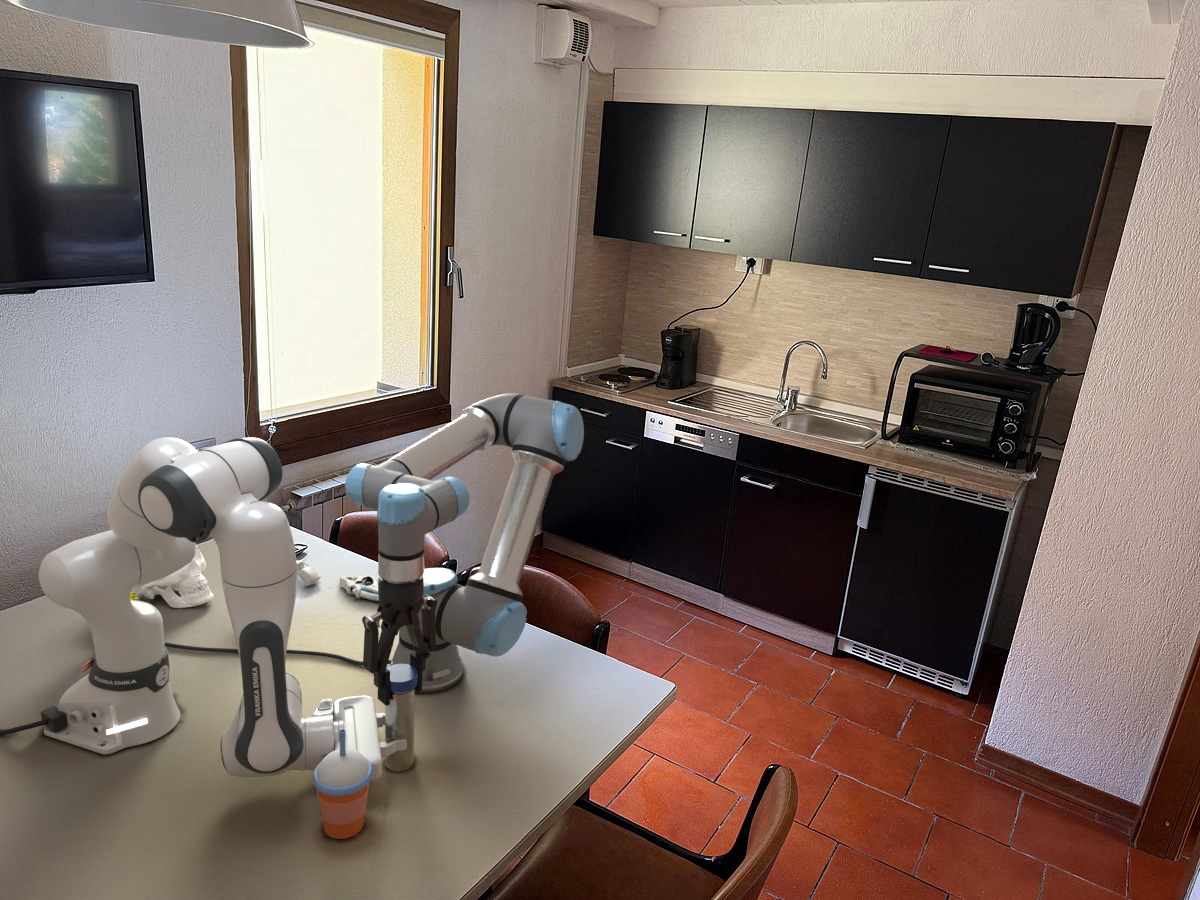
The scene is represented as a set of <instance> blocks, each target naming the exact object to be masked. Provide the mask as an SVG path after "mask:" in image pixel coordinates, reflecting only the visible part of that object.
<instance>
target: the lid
mask: <svg viewBox="0 0 1200 900" xmlns="http://www.w3.org/2000/svg"><path fill="white" fill-rule="evenodd" d="M390 665H391V664H390ZM390 665H389V666H387V668H386V669H388V670H389V671H390V691H391V692H406V691H409V690H411V689H413V688H414V687H416V685H417V682H418V672H417V669H416V668H415V667H413V666H412V665H408V664H395V665H391V666H390Z"/></svg>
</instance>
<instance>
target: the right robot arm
mask: <svg viewBox="0 0 1200 900" xmlns="http://www.w3.org/2000/svg"><path fill="white" fill-rule="evenodd" d="M584 437H585V427H584V420H583V415H582V414H581V412H580V410H579V409H578V408H577V407H576V406H574V405H572V404H569V403H565V402H562V401H561V400H560V401H559V400H553V399H545V398H541V397H536V396H529V395H526V394H525V395H524V394H521V393H502V394H497V395H493V396H491V397H487V398H485V399H482V400H479V401H477V402H475V403H472V404H471V405H469V406H468V407H466V408H464V409H462V410H461V411H460V412H459V413H458V415H457V418H456V419H455V420H453V421H451V422H450V423H448V424H446V425H445V426H443V427H441V428H438V430H436V431H434V432H433V433H431V434H428V435H427V436H426V437H424V438H422V439H421V440H419V441H417V442H415V443H414V444H412V445H410V446H409V447H407V448H406V449H405V448H404V450H402V451H400V452H399V453H397V454H395V455H394V456H392V457H390V458H388V459H387V460H384V461H383V462H382V463H380V464H378V465H374V464H373V463H358V464H356V465H354V466H353V467H352V468H351V469H350V470H349V472H348V474H347V475H346V479H345V483H344V489H345V495H346V497H347V499H349V501H350V502H352V503H354V504H357V505H360V506H363V507H364V508H366V509H371V510H372V509H373V510H376V516H377V528H378V529H377V530H378V531H377V532H378V534H377V535H378V547H377V551H378V556H377V559H378V560H377V561H378V562H377V563H378V565H377V567H378V568H377V570H378V571H377V574H378V577H377V584H378V597H379V601H378V602H379V603H378V607H377V608H376V612H375V613H373V614H372V615H370V616H369V615H365V614H364V616H362V618H361V621H362V624H363V627H364V636H363V653H362V654H363V656H362V661H360V660H355V659H351V658H349V657H346V656H343V655H340V654H336V653H330V652H329V653H328V652H321V651H313V650H298V649H287V650H286V655H301V656H303V655H304V656H314V657H315V656H317V657H322V658H323V657H325V658H330V659H336V660H339V661H343V662H344V663H348V664H352V665H356V666H362V667H363V668H364V669H365V670H366V671H367V672H369V673H370V674H373V685H374V686H375V687H376V688H377V700H378V701H380V702H381V703H382V704H383V705H384V706H385V705H386V706H387V705H389V704H390V671H389V670H388V669H386V668H387V667H388V665H389V666H391V665H395V664H408V665H412V666H413V667H415V668H416V669H417V672H418V682H417V685H416V687H415V694H430V693H431V694H432V693H438V692H441V691H445V690H447V689H450V688H451V687H453V686H455V685H456V684H457V683H458V682H459V681H460V680H461V679H462V676H463V672H464V664H463V660H462V657H461V656H460V653H459V649H458V646H459V647H461V648H464V649H466V650H467V649H468V650H471V651H473V652H475V653H476V654H479V655H486V656H490V657H493V658H496V657H502V656H503V655H506V654H507V653H509V652H510V651H511V649H513V648H514V646H515V645H516V644H517V643H518V641H519V639H520V638H521V637H522V634H523V631H524V629H525V627H526V623H527V619H528V618H527V615H528V611H527V607H526V606H525V605H524V603H523V602H522V600H523V596H524V594H523V592H522V589H521V587H520V582H521V578H522V575H523V572H524V569H525V565H526V563H527V560H528V557H529V554H530V550H531V547H532V544H533V541H534V538H535V536H536V532H537V529H538V526H539V523H540V520H541V517H542V514H543V512H544V511H543V510H544V508H545V505H546V501H547V498H548V496H549V493H550V490H551V487H552V483H553V480H554V476H555V475H557V474H559V473H561V472H563V471H564V469H565V466H566V463H567V462H571V461H575V460H576V459H577V458H578V456H579V455H580V454H581V452H582V448H583V444H584V439H585V438H584ZM493 446H503V447H504V446H505V447H509V448H512V449H511V451H510V454H511V457H512V458H513V460H514V466H513V468H512V471H511V474H510V477H509V480H508V483H507V486H506V489H505V492H504V495H503V498H502V502H501V504H500V507H499V509H498V512H497V516H496V518H495V522H494V523H493V524H494V525H493V527H492V531H491V534H490V536H489V539H488V542H487V546H486V548H485V551H484V554H483V558H482V560H481V563H480V567H479V569H478V571H477V572H476V573H474V574H473V575H471V576H469V577H468V579H467V581H466V585H462V584H458V582H459V581H458V580H459V579H458V576H457V574H456V572H455V571H454V570H452V569H450V568H445V567H429V568H425V541H426V540H425V537H426V535H427V534H429V533H431V532H433V531H434V530H437V529H438V528H440V527H442V526H444V525H447V524H449V523H451V522H454V521H456V519H457V518H459V517H461V516H462V515H463V514H464V513H465V512H466V511H467V510H468V508H469V505H470V493H469V490H468V488H467V486H466V484H465V483H464V482H463V481H462V480H460V479H459V478H457V477H454V476H446V477H440V478H438V479H436V480H434V478H436V477H437V476H439V475H440V474H442V473H444V472H445V471H447V470H448V469H450V468H451V467H452V466H454V465H456V464H457V463H459V462H460V461H462V460H463V459H465V458H467V457H468V456H469V455H471V454H473V453H474V452H476V451H484V450H487V449H490V447H493ZM381 620H382V621H381ZM380 621H381V624H380ZM379 629H380V630H381V631H379ZM396 636H398V643H397V645H396V648H395V651H394V653H393V656H392V659H390V657H391V653H392V650H393V646H394V642H395V639H396ZM164 643H165V647H166V648H172V649H178V650H184V651H185V650H186V651H195V652H196V651H197V652H207V653H228V654H229V653H230V654H231V653H233V654H234V653H235V654H239V652H238V648H226V647H225V648H223V647H203V646H194V645H183V644H178V643H172V642H166V641H164Z"/></svg>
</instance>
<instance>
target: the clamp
mask: <svg viewBox="0 0 1200 900" xmlns="http://www.w3.org/2000/svg"><path fill="white" fill-rule="evenodd" d="M296 562H297V577H298V578H299V579H300V580H301V582H303V584H304V585H305V587H309V586H312V585H314V584H316V583H318V582H319V580H320V579H321V578H322V577H321V575H320V574H319V573H318V572H317V570H315V569H314V568H313V566H312V565H310V564H309V565H308V564H307V563H305V562H304V561H303V560H301V559H300V560H299V559H296ZM305 566H306V567H305Z"/></svg>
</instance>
